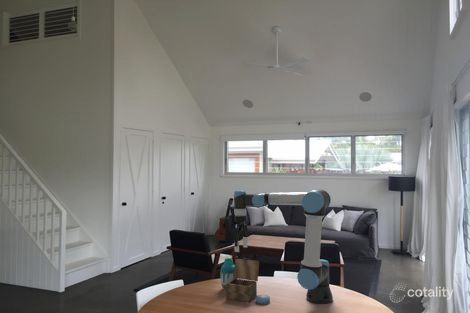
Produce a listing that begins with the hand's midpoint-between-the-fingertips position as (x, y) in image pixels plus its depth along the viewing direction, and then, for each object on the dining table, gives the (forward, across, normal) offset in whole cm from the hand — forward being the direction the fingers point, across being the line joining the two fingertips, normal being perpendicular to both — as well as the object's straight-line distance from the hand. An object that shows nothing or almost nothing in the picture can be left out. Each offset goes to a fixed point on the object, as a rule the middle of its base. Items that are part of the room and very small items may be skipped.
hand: (241, 249), depth 227 cm
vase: (+27, -4, -11) cm, 29 cm away
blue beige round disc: (+27, +9, +17) cm, 33 cm away
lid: (+11, +2, +3) cm, 12 cm away
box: (+27, +8, +3) cm, 28 cm away
